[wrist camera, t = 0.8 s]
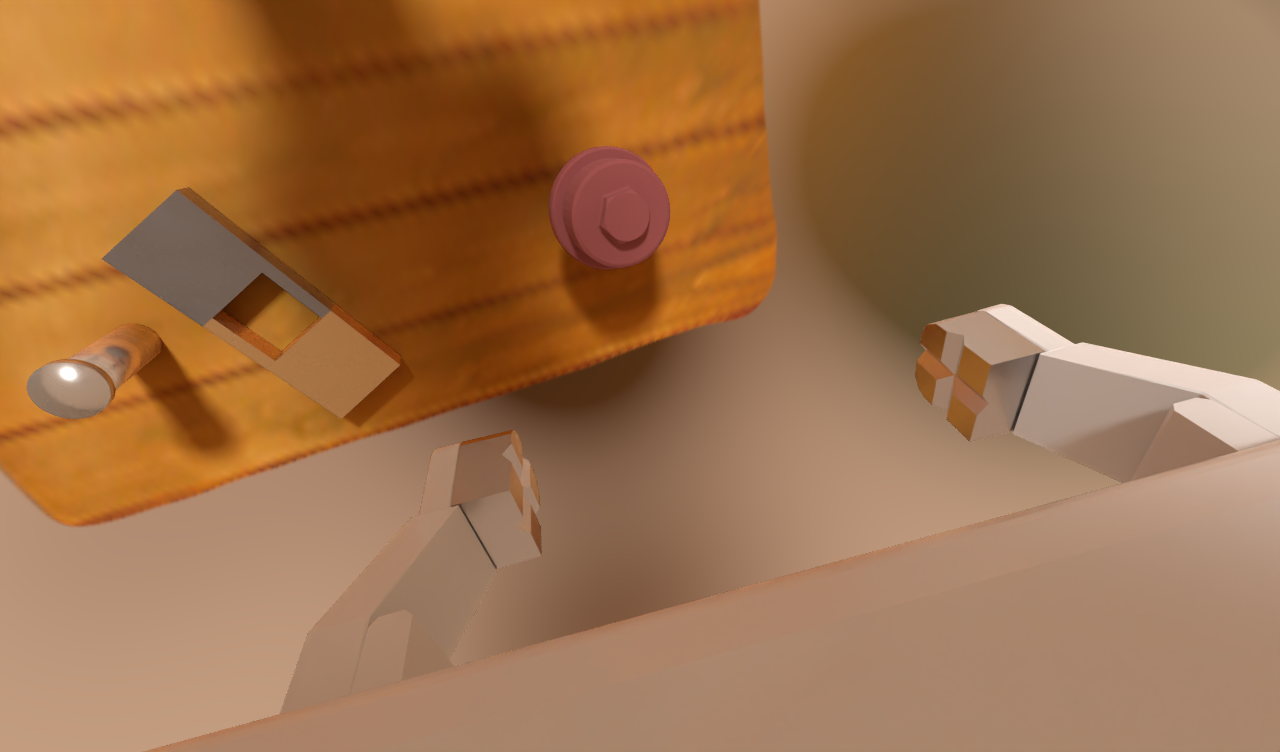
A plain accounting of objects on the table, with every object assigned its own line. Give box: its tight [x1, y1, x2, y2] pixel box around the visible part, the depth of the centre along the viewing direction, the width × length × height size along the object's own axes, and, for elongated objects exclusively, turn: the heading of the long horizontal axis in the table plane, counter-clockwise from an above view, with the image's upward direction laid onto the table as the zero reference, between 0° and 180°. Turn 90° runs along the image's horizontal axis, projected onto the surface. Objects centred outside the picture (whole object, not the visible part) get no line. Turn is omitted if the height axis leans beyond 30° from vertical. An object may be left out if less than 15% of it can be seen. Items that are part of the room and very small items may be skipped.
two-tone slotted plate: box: [102, 187, 401, 419], centre depth 45 cm, size 20×7×2 cm, turn 38°
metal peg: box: [27, 324, 162, 419], centre depth 39 cm, size 4×4×10 cm
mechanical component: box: [549, 147, 670, 269], centre depth 46 cm, size 12×10×10 cm
